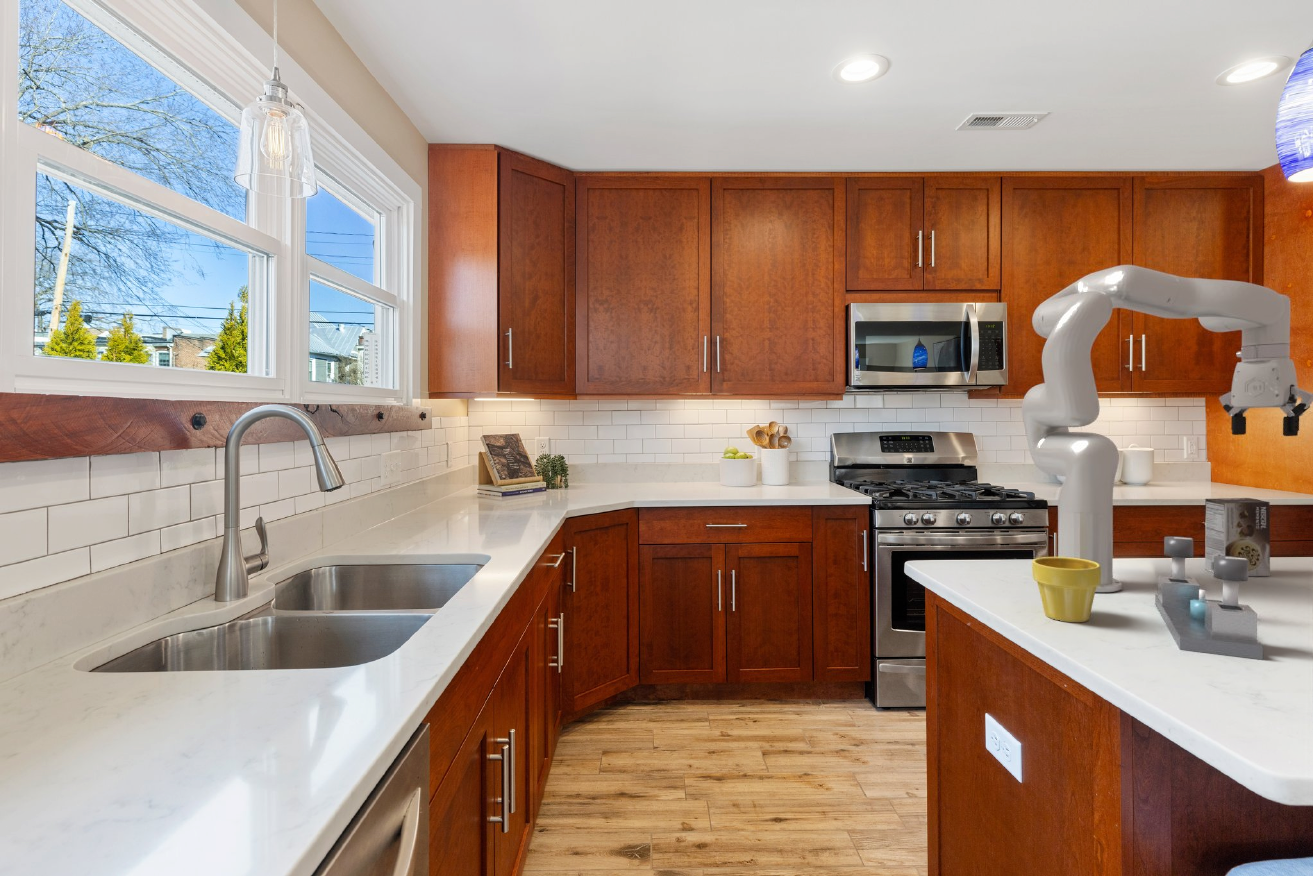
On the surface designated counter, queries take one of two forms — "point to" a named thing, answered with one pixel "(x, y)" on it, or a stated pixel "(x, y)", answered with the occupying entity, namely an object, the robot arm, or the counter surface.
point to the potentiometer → (1198, 606)
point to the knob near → (1230, 576)
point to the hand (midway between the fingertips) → (1263, 435)
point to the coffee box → (1238, 532)
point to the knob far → (1178, 553)
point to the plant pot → (1066, 586)
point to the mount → (1207, 621)
